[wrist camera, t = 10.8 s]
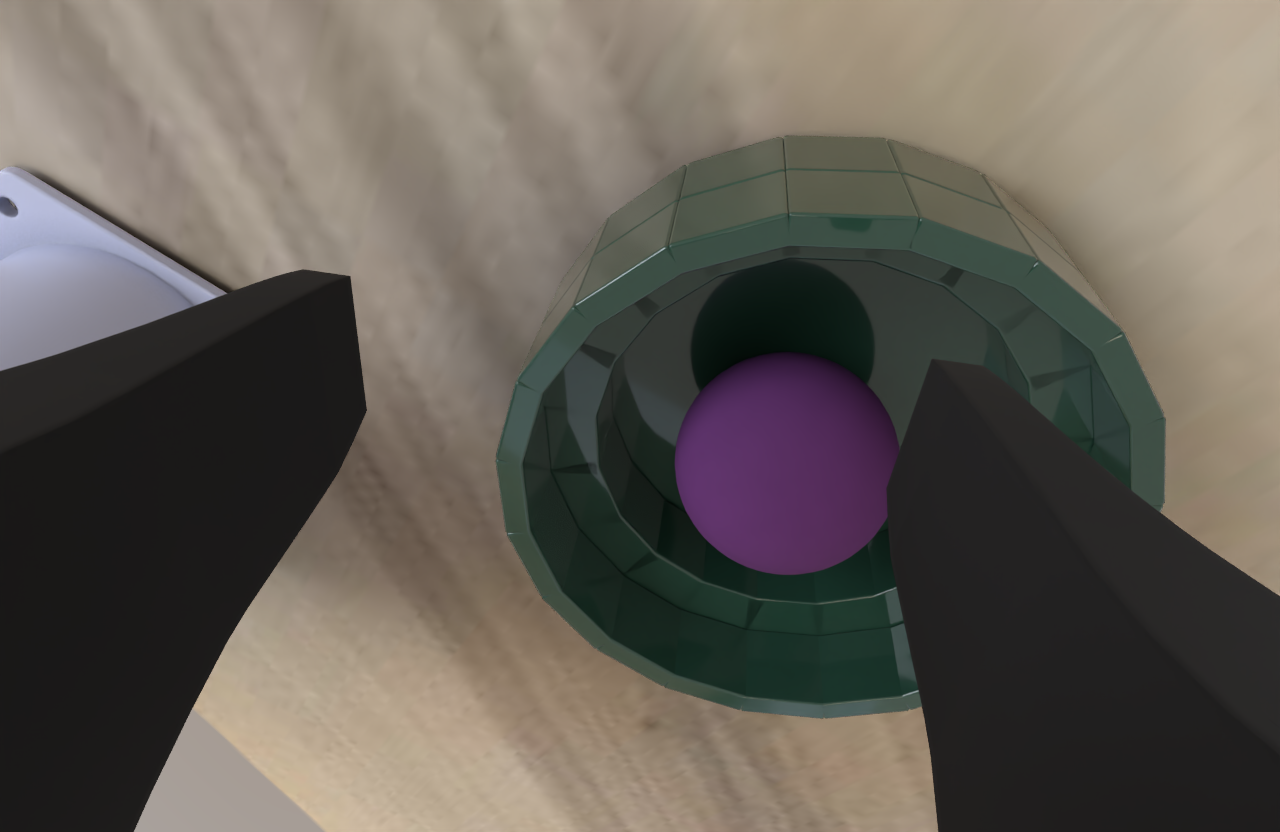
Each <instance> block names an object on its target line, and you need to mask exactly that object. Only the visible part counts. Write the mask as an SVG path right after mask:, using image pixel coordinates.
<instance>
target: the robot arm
mask: <svg viewBox="0 0 1280 832" xmlns="http://www.w3.org/2000/svg"><path fill="white" fill-rule="evenodd" d="M9 199H10V200H11V201H12V202H13V203H15V205H16V207H17V208H18V210H17V209H16V208H15V207H13V206H12V204H11V203H10V201H9ZM366 411H367V409H366V401H365V392H364V384H363V376H362V368H361V360H360V352H359V344H358V336H357V327H356V319H355V311H354V303H353V295H352V287H351V279H350V276H346V275H338V274H331V273H324V272H317V271H310V270H298V271H294V272H290V273H286V274H282V275H279V276H276V277H272V278H269V279H266V280H263V281H260V282H258V283H255V284H252V285H249V286H246V287H244V288H241V289H238V290H235V291H233V292H230V293H226V292H224V291H223V290H221V289H219V288H218V287H216V286H214V285H213V284H211V283H209V282H208V281H206V280H205V279H203V278H201V277H200V276H198V275H196V274H195V273H193V272H191V271H190V270H188V269H186V268H185V267H183V266H181V265H180V264H178V263H176V262H175V261H173V260H172V259H170V258H168V257H167V256H165V255H163V254H162V253H160V252H158V251H157V250H155V249H153V248H152V247H150V246H148V245H147V244H145V243H144V242H142V241H140V240H139V239H137V238H135V237H134V236H132V235H130V234H129V233H127V232H125V231H124V230H122V229H120V228H119V227H117V226H116V225H114V224H112V223H111V222H109V221H107V220H106V219H104V218H102V217H101V216H99V215H97V214H96V213H94V212H92V211H91V210H89V209H88V208H86V207H84V206H83V205H81V204H79V203H78V202H76V201H74V200H73V199H71V198H69V197H68V196H66V195H64V194H63V193H61V192H60V191H58V190H56V189H55V188H53V187H51V186H50V185H48V184H46V183H45V182H43V181H41V180H40V179H38V178H36V177H35V176H33V175H32V174H30V173H28V172H27V171H25V170H23V169H20V168H18V167H10V166H9V167H7V168H5V169H2V170H0V832H134V830H135V828H136V825H137V823H138V821H139V819H140V816H141V814H142V812H143V810H144V807H145V805H146V803H147V801H148V799H149V796H150V794H151V792H152V790H153V788H154V786H155V784H156V782H157V780H158V777H159V775H160V773H161V771H162V769H163V767H164V765H165V763H166V761H167V759H168V757H169V755H170V753H171V751H172V749H173V746H174V745H175V743H176V740H177V738H178V736H179V734H180V732H181V730H182V728H183V726H184V723H185V722H186V720H187V718H188V716H189V714H190V712H191V710H192V708H193V706H194V704H195V702H196V700H197V698H198V696H199V695H200V693H201V691H202V689H203V687H204V685H205V683H206V681H207V679H208V677H209V675H210V674H211V672H212V670H213V668H214V666H215V664H216V662H217V660H218V658H219V656H220V654H221V653H222V651H223V649H224V647H225V645H226V643H227V641H228V639H229V638H230V636H231V635H232V633H233V631H234V630H235V628H236V626H237V625H238V623H239V621H240V620H241V618H242V616H243V615H244V613H245V612H246V610H247V608H248V607H249V605H250V604H251V602H252V601H253V599H254V598H255V596H256V595H257V594H258V592H259V591H260V589H261V588H262V586H263V585H264V583H265V582H266V580H267V579H268V577H269V576H270V574H271V573H272V571H273V570H274V568H275V567H276V565H277V564H278V562H279V561H280V559H281V558H282V556H283V555H284V554H285V552H286V551H287V549H288V548H289V546H290V545H291V543H292V542H293V540H294V539H295V537H296V536H297V534H298V533H299V531H300V530H301V528H302V527H303V525H304V524H305V522H306V521H307V519H308V518H309V516H310V515H311V513H312V512H313V510H314V509H315V507H316V506H317V504H318V503H319V501H320V500H321V498H322V497H323V495H324V494H325V492H326V491H327V489H328V488H329V486H330V484H331V483H332V481H333V480H334V478H335V477H336V475H337V473H338V472H339V470H340V468H341V466H342V464H343V461H344V459H345V457H346V455H347V453H348V451H349V449H350V447H351V445H352V443H353V441H354V438H355V436H356V434H357V432H358V429H359V427H360V425H361V423H362V420H363V418H364V416H365V414H366ZM886 491H887V512H888V530H889V543H890V556H891V562H892V567H893V572H894V577H895V582H896V587H897V592H898V597H899V602H900V606H901V611H902V616H903V621H904V625H905V630H906V634H907V639H908V644H909V648H910V653H911V658H912V662H913V667H914V672H915V676H916V681H917V686H918V690H919V695H920V699H921V704H922V709H923V713H924V718H925V724H926V730H927V736H928V742H929V748H930V754H931V763H932V773H933V783H934V792H935V802H936V812H937V822H938V832H1280V596H1279V595H1277V594H1275V593H1274V592H1272V591H1271V590H1269V589H1268V588H1266V587H1265V586H1263V585H1262V584H1260V583H1259V582H1257V581H1256V580H1254V579H1253V578H1251V577H1250V576H1248V575H1247V574H1245V573H1244V572H1242V571H1241V570H1239V569H1238V568H1237V567H1235V566H1234V565H1232V564H1231V563H1229V562H1228V561H1226V560H1225V559H1223V558H1222V557H1220V556H1219V555H1217V554H1216V553H1214V552H1213V551H1211V550H1210V549H1208V548H1207V547H1206V546H1204V545H1203V544H1201V543H1200V542H1199V541H1197V540H1196V539H1194V538H1193V537H1192V536H1190V535H1189V534H1187V533H1186V532H1185V531H1183V530H1182V529H1181V528H1179V527H1178V526H1177V525H1175V524H1174V523H1173V522H1172V521H1170V520H1169V519H1168V518H1166V517H1165V516H1164V515H1163V514H1161V513H1160V512H1159V511H1157V510H1156V509H1155V508H1154V507H1152V506H1151V505H1150V504H1148V503H1147V502H1146V501H1144V500H1143V499H1142V498H1141V497H1139V496H1138V495H1137V494H1135V493H1134V492H1133V491H1132V490H1130V489H1129V488H1128V487H1127V486H1126V485H1124V484H1123V483H1122V482H1121V481H1119V480H1118V479H1117V478H1116V477H1115V476H1113V475H1112V474H1111V473H1110V472H1108V471H1107V470H1106V469H1105V468H1104V467H1103V466H1101V465H1100V464H1099V463H1098V462H1097V461H1095V460H1094V459H1093V458H1092V457H1091V456H1090V455H1088V454H1087V453H1086V452H1085V451H1084V450H1083V449H1081V448H1080V447H1079V446H1078V445H1077V444H1076V443H1074V442H1073V441H1072V440H1071V439H1070V438H1069V437H1068V436H1066V435H1065V434H1064V433H1063V432H1062V431H1061V430H1060V429H1058V428H1057V427H1056V426H1055V425H1054V424H1053V423H1052V422H1051V421H1049V420H1048V419H1047V418H1046V417H1045V416H1044V415H1043V414H1041V413H1040V412H1039V411H1038V410H1037V409H1036V408H1035V407H1034V406H1032V405H1031V404H1030V403H1029V402H1028V401H1027V400H1026V399H1024V398H1023V397H1022V396H1021V395H1020V394H1019V393H1017V392H1016V391H1015V390H1014V389H1013V388H1012V387H1010V386H1009V385H1008V384H1007V383H1006V382H1004V381H1003V380H1002V379H1001V378H999V377H998V376H997V375H996V374H994V373H993V372H991V371H990V370H989V369H987V368H986V367H984V366H981V365H974V364H967V363H960V362H953V361H946V360H939V359H932V360H931V363H930V365H929V368H928V371H927V374H926V377H925V380H924V383H923V385H922V388H921V391H920V394H919V397H918V400H917V402H916V405H915V408H914V411H913V414H912V417H911V420H910V422H909V425H908V428H907V431H906V434H905V437H904V439H903V442H902V445H901V448H900V451H899V454H898V456H897V459H896V462H895V465H894V468H893V471H892V474H891V476H890V479H889V482H888V485H887V488H886Z"/></svg>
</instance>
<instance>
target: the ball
mask: <svg viewBox="0 0 1280 832" xmlns="http://www.w3.org/2000/svg"><path fill="white" fill-rule="evenodd" d="M899 451H900V447H899V443H898V439H897V435H896V431H895V428H894V425H893V423H892V420H891V418H890V416H889V414H888V412H887V411H886V409H885V407H884V406H883V404H882V402H881V401H880V399H879V398H878V397H877V395H876V394H875V393H874V392H873V390H872V389H871V388H870V387H869V386H868V385H866V384H865V383H864V382H863V381H862V380H861V379H860V378H859V377H857V376H856V375H855V374H853V373H852V372H851V371H849V370H848V369H846V368H844V367H842V366H841V365H839V364H837V363H835V362H832V361H830V360H828V359H825V358H822V357H818V356H815V355H811V354H805V353H798V352H775V353H769V354H763V355H759V356H755V357H752V358H749V359H746V360H743V361H741V362H739V363H737V364H735V365H733V366H731V367H730V368H728V369H727V370H725V371H723V372H722V373H720V374H719V375H717V376H716V377H715V378H714V379H713V380H712V381H710V382H709V383H708V384H707V385H706V386H705V387H704V389H703V390H702V391H701V392H700V393H699V394H698V395H697V397H696V398H695V400H694V401H693V403H692V405H691V406H690V408H689V410H688V411H687V413H686V415H685V417H684V420H683V422H682V425H681V428H680V431H679V434H678V439H677V443H676V451H675V472H676V482H677V486H678V490H679V494H680V497H681V500H682V503H683V505H684V508H685V510H686V512H687V514H688V515H689V517H690V519H691V520H692V522H693V524H694V525H695V527H696V528H697V529H698V531H699V532H700V533H701V535H702V536H703V537H704V538H705V539H706V540H707V541H708V542H709V543H710V544H711V545H712V546H714V547H715V548H716V549H717V550H718V551H720V552H721V553H722V554H724V555H725V556H727V557H728V558H730V559H732V560H733V561H735V562H737V563H739V564H741V565H744V566H746V567H748V568H751V569H754V570H757V571H761V572H766V573H771V574H779V575H797V574H805V573H811V572H816V571H820V570H824V569H826V568H829V567H832V566H834V565H836V564H838V563H840V562H842V561H844V560H846V559H848V558H849V557H851V556H852V555H854V554H855V553H856V552H858V551H859V550H860V549H861V548H863V547H864V546H865V545H866V544H867V543H868V542H869V541H870V540H871V539H872V538H873V537H874V536H875V534H876V533H877V532H878V530H879V529H880V528H881V526H882V525H883V523H884V522H885V520H886V519H887V517H888V512H887V491H886V488H887V485H888V482H889V479H890V476H891V474H892V471H893V468H894V465H895V462H896V459H897V456H898V454H899Z"/></svg>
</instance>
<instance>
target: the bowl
mask: <svg viewBox="0 0 1280 832" xmlns="http://www.w3.org/2000/svg"><path fill="white" fill-rule="evenodd" d="M775 352H798V353H805V354H811V355H815V356H818V357H822V358H825V359H828V360H830V361H832V362H835V363H837V364H839V365H841V366H842V367H844V368H846V369H848V370H849V371H851V372H852V373H853V374H855V375H856V376H857V377H859V378H860V379H861V380H862V381H863V382H864V383H865V384H866V385H868V386H869V387H870V388H871V389H872V390H873V392H874V393H875V394H876V395H877V397H878V398H879V399H880V401H881V402H882V404H883V406H884V407H885V409H886V411H887V412H888V414H889V416H890V418H891V420H892V423H893V425H894V428H895V431H896V435H897V439H898V443H899V447H900V448H901V445H902V442H903V439H904V437H905V434H906V431H907V428H908V425H909V422H910V420H911V417H912V414H913V411H914V408H915V405H916V402H917V400H918V397H919V394H920V391H921V388H922V385H923V383H924V380H925V377H926V374H927V371H928V368H929V365H930V363H931V360H932V359H939V360H946V361H953V362H960V363H967V364H974V365H981V366H984V367H986V368H987V369H989V370H990V371H991V372H993V373H994V374H996V375H997V376H998V377H999V378H1001V379H1002V380H1003V381H1004V382H1006V383H1007V384H1008V385H1009V386H1010V387H1012V388H1013V389H1014V390H1015V391H1016V392H1017V393H1019V394H1020V395H1021V396H1022V397H1023V398H1024V399H1026V400H1027V401H1028V402H1029V403H1030V404H1031V405H1032V406H1034V407H1035V408H1036V409H1037V410H1038V411H1039V412H1040V413H1041V414H1043V415H1044V416H1045V417H1046V418H1047V419H1048V420H1049V421H1051V422H1052V423H1053V424H1054V425H1055V426H1056V427H1057V428H1058V429H1060V430H1061V431H1062V432H1063V433H1064V434H1065V435H1066V436H1068V437H1069V438H1070V439H1071V440H1072V441H1073V442H1074V443H1076V444H1077V445H1078V446H1079V447H1080V448H1081V449H1083V450H1084V451H1085V452H1086V453H1087V454H1088V455H1090V456H1091V457H1092V458H1093V459H1094V460H1095V461H1097V462H1098V463H1099V464H1100V465H1101V466H1103V467H1104V468H1105V469H1106V470H1107V471H1108V472H1110V473H1111V474H1112V475H1113V476H1115V477H1116V478H1117V479H1118V480H1119V481H1121V482H1122V483H1123V484H1124V485H1126V486H1127V487H1128V488H1129V489H1130V490H1132V491H1133V492H1134V493H1135V494H1137V495H1138V496H1139V497H1141V498H1142V499H1143V500H1144V501H1146V502H1147V503H1148V504H1150V505H1151V506H1152V507H1154V508H1155V509H1156V510H1157V511H1159V512H1161V510H1162V508H1163V504H1164V503H1165V437H1166V419H1165V417H1164V412H1163V410H1162V408H1161V406H1160V404H1159V402H1158V400H1157V398H1156V396H1155V393H1154V391H1153V389H1152V387H1151V385H1150V383H1149V381H1148V379H1147V377H1146V375H1145V373H1144V371H1143V369H1142V366H1141V364H1140V362H1139V360H1138V358H1137V356H1136V354H1135V352H1134V350H1133V348H1132V346H1131V344H1130V341H1129V339H1128V337H1127V335H1126V333H1125V332H1124V330H1123V329H1122V328H1121V326H1120V325H1119V324H1118V322H1117V321H1116V320H1115V318H1114V317H1113V315H1112V314H1111V313H1110V311H1109V310H1108V309H1107V307H1106V306H1105V305H1104V303H1103V302H1102V301H1101V299H1100V298H1099V296H1098V295H1097V294H1096V292H1095V291H1094V290H1093V288H1092V287H1091V286H1090V284H1089V283H1088V282H1087V280H1086V279H1085V278H1084V276H1083V275H1082V274H1081V272H1080V271H1079V270H1078V268H1077V267H1076V265H1075V264H1074V263H1073V261H1072V260H1071V259H1070V257H1069V256H1068V255H1067V253H1066V252H1065V251H1064V249H1063V248H1062V247H1061V245H1060V244H1059V242H1058V241H1057V240H1056V238H1055V237H1054V236H1053V235H1052V233H1051V232H1050V231H1049V230H1048V229H1047V228H1046V227H1045V226H1044V225H1043V224H1041V223H1040V222H1039V221H1038V220H1037V219H1036V218H1034V217H1033V216H1032V215H1031V214H1030V213H1029V212H1027V211H1026V210H1025V209H1024V208H1023V207H1022V206H1020V205H1019V204H1018V203H1017V202H1016V201H1015V200H1013V199H1012V198H1011V197H1010V196H1009V195H1008V194H1006V193H1005V192H1004V191H1003V190H1002V189H1001V188H999V187H998V186H997V185H996V184H995V183H994V182H992V181H991V180H990V179H989V178H988V177H987V176H986V175H983V174H980V173H979V172H978V171H976V170H974V169H971V168H968V167H965V166H963V165H960V164H957V163H954V162H952V161H949V160H946V159H943V158H941V157H938V156H935V155H932V154H930V153H927V152H924V151H921V150H919V149H916V148H913V147H910V146H908V145H905V144H902V143H899V142H897V141H894V140H887V141H886V139H884V138H867V137H826V136H785V137H784V138H782V137H777V138H773V139H770V140H767V141H763V142H760V143H756V144H753V145H750V146H746V147H743V148H739V149H736V150H733V151H729V152H726V153H722V154H719V155H716V156H712V157H709V158H705V159H702V160H699V161H695V162H692V163H689V164H688V165H687V166H686V165H684V166H682V167H680V168H679V169H677V170H676V171H675V172H673V173H672V174H670V175H669V176H667V177H666V178H664V179H663V180H661V181H660V182H659V183H657V184H656V185H654V186H653V187H651V188H650V189H648V190H647V191H645V192H644V193H642V194H641V195H640V196H638V197H637V198H635V199H634V200H632V201H631V202H629V203H628V204H626V205H625V206H624V207H622V208H621V209H619V210H618V211H616V212H615V213H613V214H612V215H611V216H610V217H609V218H608V219H607V220H606V221H605V223H604V224H603V225H602V227H601V228H600V229H599V231H598V232H597V233H596V235H595V236H594V238H593V239H592V240H591V242H590V243H589V244H588V246H587V247H586V248H585V250H584V251H583V252H582V254H581V255H580V257H579V258H578V259H577V261H576V262H575V263H574V265H573V266H572V267H571V269H570V270H569V272H568V273H567V274H566V276H565V277H564V278H563V280H562V281H561V283H560V285H559V287H558V289H557V292H556V294H555V296H554V298H553V300H552V303H551V305H550V307H549V309H548V311H547V314H546V316H545V318H544V320H543V322H542V325H541V327H540V330H539V331H538V334H537V336H536V338H535V340H534V342H533V345H532V347H531V349H530V351H529V353H528V356H527V358H526V360H525V362H524V364H523V366H522V369H521V371H520V373H519V375H518V377H517V380H516V382H515V385H514V389H513V393H512V397H511V400H510V404H509V408H508V412H507V415H506V419H505V423H504V427H503V430H502V434H501V438H500V442H499V446H498V449H497V453H496V467H497V474H498V481H499V488H500V496H501V503H502V510H503V517H504V524H505V530H506V532H507V536H508V538H509V540H510V542H511V543H512V545H513V547H514V549H515V551H516V553H517V554H518V556H519V558H520V560H521V562H522V563H523V565H524V567H525V569H526V571H527V572H528V574H529V576H530V578H531V580H532V581H533V583H534V585H535V587H536V589H537V591H538V592H539V594H540V596H542V599H543V600H544V601H545V602H546V603H547V604H548V605H549V606H550V607H551V608H552V609H553V610H554V611H556V612H557V613H558V614H559V615H560V616H561V617H562V618H563V619H564V620H565V621H566V622H567V623H568V624H569V625H570V626H571V627H572V628H573V629H574V630H576V631H577V632H578V633H579V634H580V635H581V636H582V637H583V638H584V639H585V640H586V641H587V642H588V643H589V644H590V645H591V646H592V647H593V648H595V649H597V650H598V651H600V652H602V653H603V654H605V655H607V656H609V657H611V658H612V659H614V660H616V661H618V662H619V663H621V664H623V665H625V666H627V667H628V668H630V669H632V670H634V671H636V672H637V673H639V674H641V675H643V676H645V677H646V678H648V679H650V680H652V681H654V682H655V683H657V684H659V685H661V686H664V687H665V688H668V689H671V690H674V691H677V692H681V693H684V694H687V695H691V696H694V697H697V698H701V699H704V700H707V701H711V702H714V703H717V704H721V705H724V706H727V707H731V708H734V709H737V710H742V711H748V712H759V713H769V714H779V715H790V716H800V717H810V718H820V719H823V718H826V719H827V718H837V717H848V716H859V715H869V714H880V713H890V712H901V711H908V710H909V709H910V710H912V709H916V708H919V707H922V704H921V699H920V695H919V690H918V686H917V681H916V676H915V672H914V667H913V662H912V658H911V653H910V648H909V644H908V639H907V634H906V630H905V625H904V621H903V616H902V611H901V606H900V602H899V597H898V592H897V587H896V582H895V577H894V572H893V567H892V562H891V556H890V543H889V530H888V517H887V519H886V520H885V522H884V523H883V525H882V526H881V528H880V529H879V530H878V532H877V533H876V534H875V536H874V537H873V538H872V539H871V540H870V541H869V542H868V543H867V544H866V545H865V546H864V547H863V548H861V549H860V550H859V551H858V552H856V553H855V554H854V555H852V556H851V557H849V558H848V559H846V560H844V561H842V562H840V563H838V564H836V565H834V566H832V567H829V568H826V569H824V570H820V571H816V572H811V573H805V574H797V575H779V574H771V573H766V572H761V571H757V570H754V569H751V568H748V567H746V566H744V565H741V564H739V563H737V562H735V561H733V560H732V559H730V558H728V557H727V556H725V555H724V554H722V553H721V552H720V551H718V550H717V549H716V548H715V547H714V546H712V545H711V544H710V543H709V542H708V541H707V540H706V539H705V538H704V537H703V536H702V535H701V533H700V532H699V531H698V529H697V528H696V527H695V525H694V524H693V522H692V520H691V519H690V517H689V515H688V514H687V512H686V510H685V508H684V505H683V503H682V500H681V497H680V494H679V490H678V486H677V482H676V472H675V451H676V443H677V439H678V434H679V431H680V428H681V425H682V422H683V420H684V417H685V415H686V413H687V411H688V410H689V408H690V406H691V405H692V403H693V401H694V400H695V398H696V397H697V395H698V394H699V393H700V392H701V391H702V390H703V389H704V387H705V386H706V385H707V384H708V383H709V382H710V381H712V380H713V379H714V378H715V377H716V376H717V375H719V374H720V373H722V372H723V371H725V370H727V369H728V368H730V367H731V366H733V365H735V364H737V363H739V362H741V361H743V360H746V359H749V358H752V357H755V356H759V355H763V354H769V353H775Z"/></svg>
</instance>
